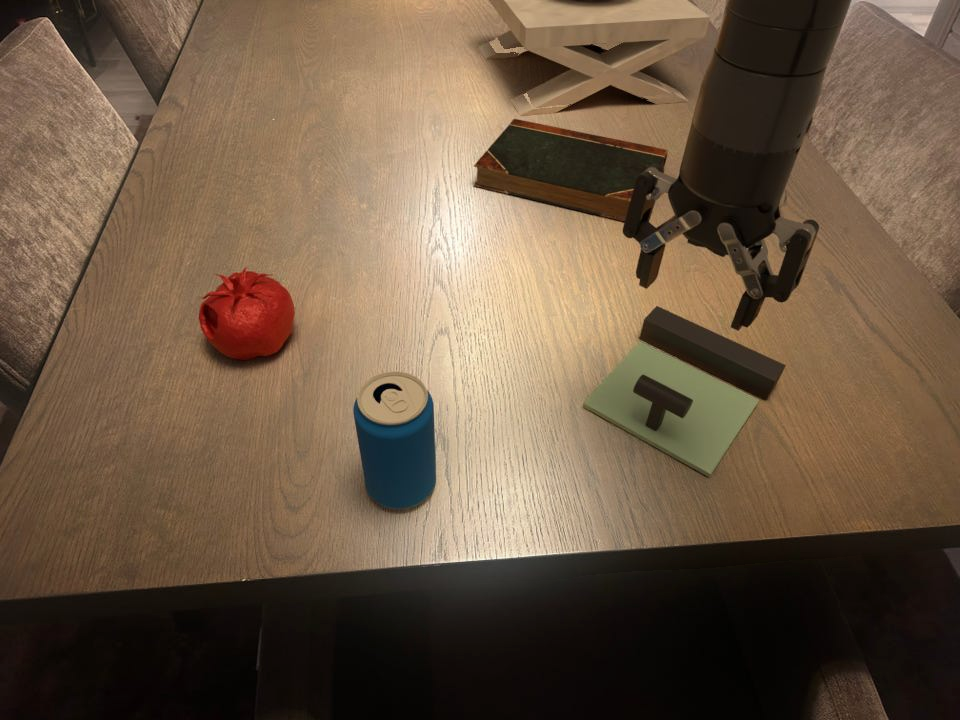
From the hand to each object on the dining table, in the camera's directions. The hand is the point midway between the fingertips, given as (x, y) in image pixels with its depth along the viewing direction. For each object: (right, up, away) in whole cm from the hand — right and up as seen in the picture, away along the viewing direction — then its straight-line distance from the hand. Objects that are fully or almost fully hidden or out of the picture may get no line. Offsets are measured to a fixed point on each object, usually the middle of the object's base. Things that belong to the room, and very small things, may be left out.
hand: (691, 303), depth 58 cm
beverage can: (-25, -16, +4) cm, 31 cm away
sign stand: (+7, -5, +17) cm, 19 cm away
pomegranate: (-43, -3, +18) cm, 47 cm away
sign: (+1, -10, +12) cm, 15 cm away
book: (-4, +23, +44) cm, 50 cm away
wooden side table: (+1, +51, +73) cm, 89 cm away
